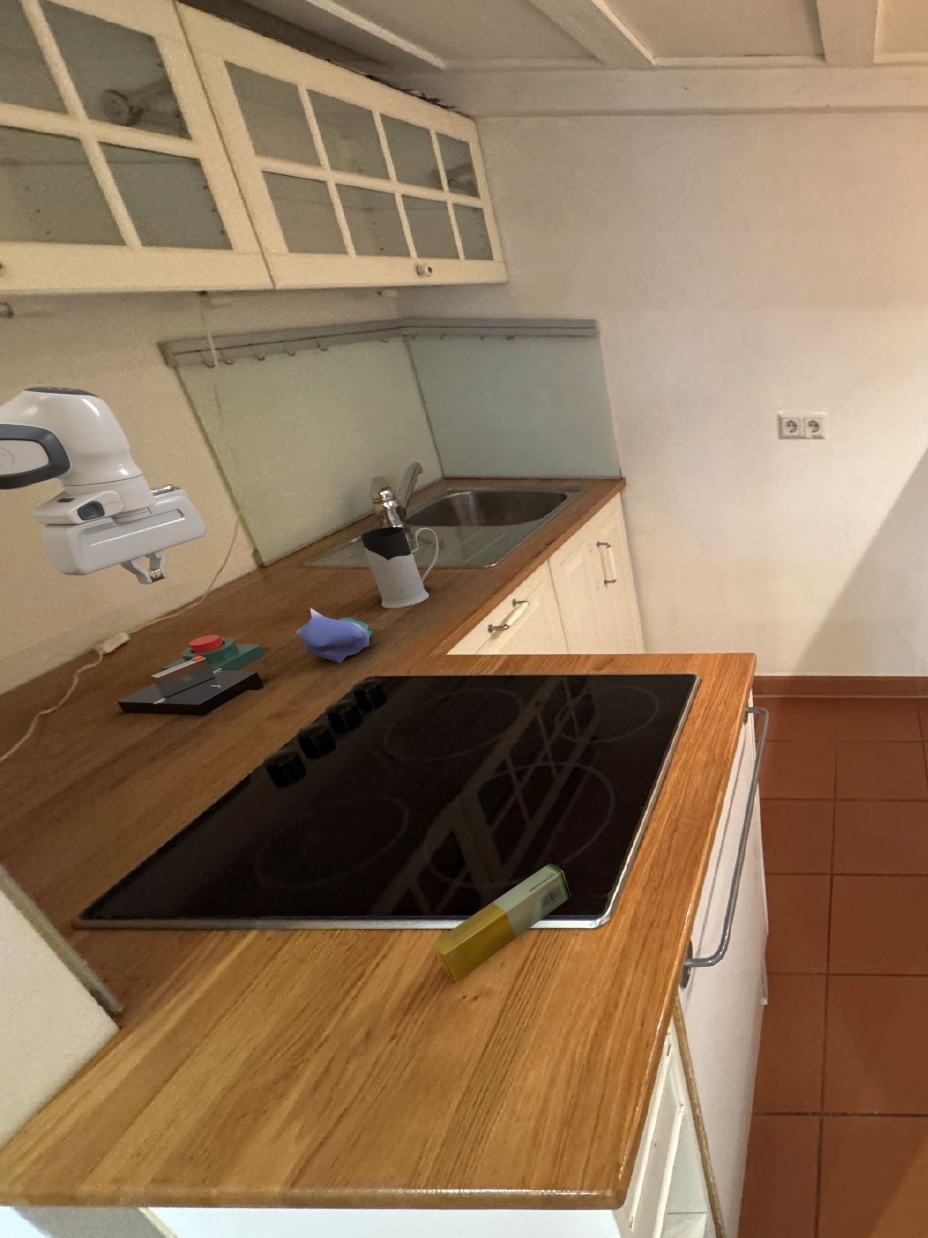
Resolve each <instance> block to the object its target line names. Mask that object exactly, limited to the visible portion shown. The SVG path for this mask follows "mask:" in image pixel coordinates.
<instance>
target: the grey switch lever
mask: <svg viewBox="0 0 928 1238" xmlns="http://www.w3.org/2000/svg"><path fill="white" fill-rule="evenodd" d="M191 659H192V660H190V661H187V662H185V663H182V664H180V665H177V666H175V667H172V668H170V669H167V670H164V671H163V670H162V671H159V672H157V673H155V674H152V675H151V678H152V680H153V683H155V684H156V686H157V688H158V689H159V691H160V693H161V695H163V696H167V697H168V696H171V695H173V694H175V693H178V692H180V691H182V690H185V689H187V688H190V687H192V686H194V685H197V684H199V683H201V682H204V681H206V680H208V679H211V678H213V677H215V675H214V673H213V671H212V669H211V667H210V665H209V663H208V661H207V659H206V658H204V657H202V656H196V657H194V658H191Z"/></svg>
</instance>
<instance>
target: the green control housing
mask: <svg viewBox="0 0 928 1238" xmlns="http://www.w3.org/2000/svg"><path fill="white" fill-rule="evenodd" d="M220 638H221V640H222V642H223V646H221V647H219V648H217V649H214V650H211V651H208V652H203V653H194V652H193V650H192V649H191V647H190V646H189V647H186V648H185V649H184V650H183V651H181V653H180V655H181V658H179V659H177V660H175V661H173V662H171V663H169V664H167V665H165V666H163V667H161V670H162V671H164V670H167V669H170V668H172V667H175V666H177V665H180V664H182V663H185V662H187V661H190V660H192V659H191V658H194V657H196V656H202V657H204V658H206V659H207V661H208V663H209V665H210V667H211V669H212V670H217V669H219V668H222V669H221V670H222V671H240V670H241V669H243V668H244V667H246V666H248V665H250V664H252V663H254V662H256V661H257V660H259V659H262V658H263V657H265V656H266V653H265V651H264V648H263V647H262V645H261V644H251V643H249V644H247V643H246V644H244V643H242V644H241V643H236V641H235V640H234V639H233V638H232V637H220Z"/></svg>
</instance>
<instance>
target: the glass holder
mask: <svg viewBox="0 0 928 1238" xmlns="http://www.w3.org/2000/svg"><path fill="white" fill-rule="evenodd" d="M424 530H427V531H430V532H431V533H432V535H433V538H434V542H435V550H434V556H433V559H432V560H431V563H430V564H429V566H428V567H427V569H426V570H425V572H424V573H423V575H422V576H421V574H420V571H419V568H418V565H417V562H416V559H415V556H414V554H413V553H415V552H417V551H418V550H419V543H418V535H419V533H421V531H424ZM360 538H361V541H362V544H363V546H364V547H363V548H364V552H365V555H366V558H367V561H368V564H369V567H370V569H371V572H372V575H373V578H374V581H375V583H376V587H377V589H378V592H379V594H380V597H381V606H382V608H385V609H400V608H401V609H402V608H406V606H407V607H411V606H414V605H417V604H420V603H422V602H424V601H426V600H427V599H428V598H429V596H430V594H429V593H428V591H426V589H425V587H424V580H425V579H426V577H427V575H428V574H429V573H430V572H431V570H432V569H433V567H434V565H435V563H436V562H437V559H438V557H439V549H440V547H439V540H438V539H439V538H438V536H437V534H436V532H435V531H434V530H433V529H431V528H429V527H420V528H418V529H417V530H416V531H415V533H414V535H413V541H414V546H415V548H414V549H412V550H411V548H410V543H409V540H408V538H407V535H406V532H405V529H404V527H402V526H401V527H400V526H388V527H380V528H375V529H372V530H369V531H366V532H364V533H362V534H361V535H360ZM410 605H411V606H410Z"/></svg>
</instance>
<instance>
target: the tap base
mask: <svg viewBox="0 0 928 1238" xmlns="http://www.w3.org/2000/svg"><path fill="white" fill-rule="evenodd" d="M221 669H222V668H219V669H217V670H212V671H213V673H214V675H215V677H213V678H211V679H208V680H206V681H204V682H201V683H199V684H197V685H194V686H192V687H190V688H187V689H185V690H182V691H180V692H178V693H175V694H173V695H171V696H168V697H167V696H163V695H161V693H160V691H159V689H158V688H157V686H156V684H155V682H153V683H151V684H149V685H148V686H146V687H144V688H142V689H139V690H138V691H136V692H134V693H132V694H129V695H128V696H126V697H124V698H122V699H120V700H118V701H117V704H118V706H119V707H120V709H121V711H122V713H124V714H145V715H146V714H147V715H148V714H150V715H173V716H174V715H177V716H202V717H203V716H206V715H208V714H209V713H211V712H213V711H215V710H216V709H218V708H220V707H221V706H223V705H225V704H227V703H228V702H230V701H232V700H233V699H235V698H237V697H238V696H241V695H242V694H244V693H245V692H248V691H260V690H261V689H263V688H264V687H265V686H264V683H263V681H262V680H261V677H260V675H259V673H258V671H255V670H253V671H252V670H237V671H222V670H221Z"/></svg>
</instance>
